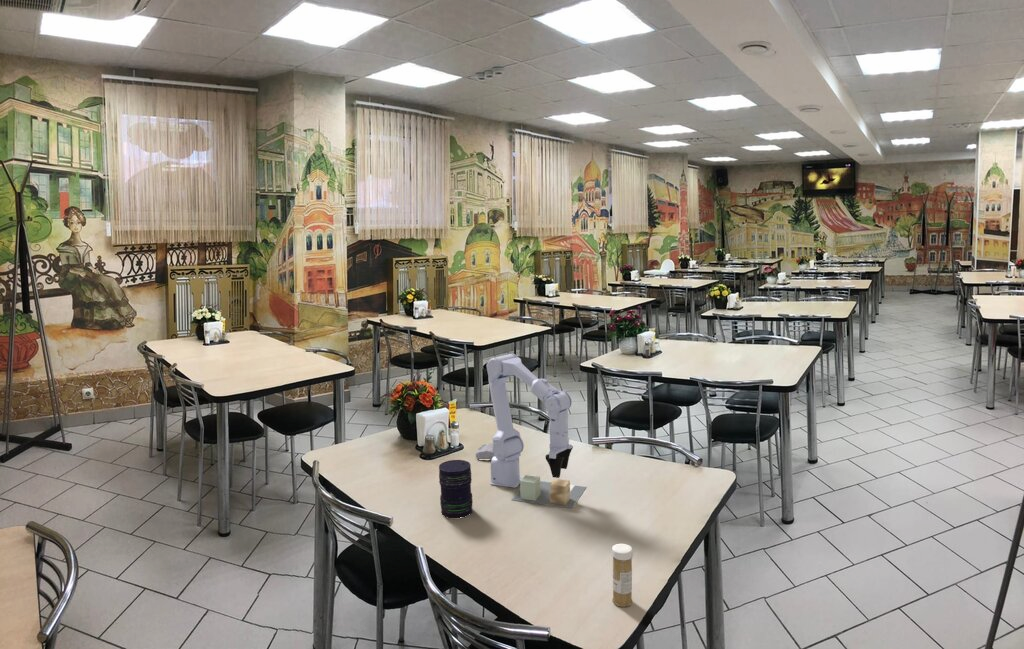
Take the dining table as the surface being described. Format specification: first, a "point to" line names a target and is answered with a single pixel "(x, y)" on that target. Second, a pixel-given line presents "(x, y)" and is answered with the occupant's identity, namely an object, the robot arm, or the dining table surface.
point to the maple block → (560, 491)
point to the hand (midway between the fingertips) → (559, 472)
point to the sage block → (530, 487)
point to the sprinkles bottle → (622, 575)
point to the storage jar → (455, 488)
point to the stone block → (485, 452)
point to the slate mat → (545, 495)
